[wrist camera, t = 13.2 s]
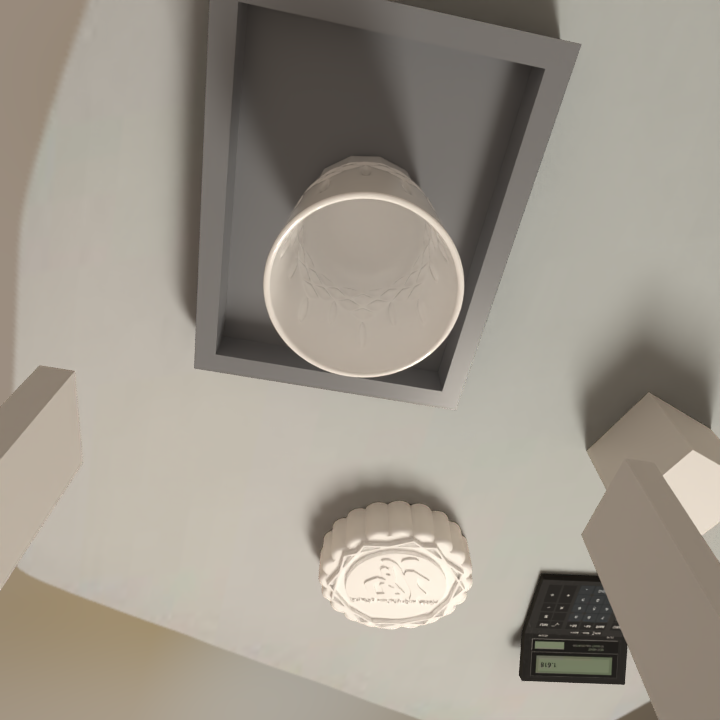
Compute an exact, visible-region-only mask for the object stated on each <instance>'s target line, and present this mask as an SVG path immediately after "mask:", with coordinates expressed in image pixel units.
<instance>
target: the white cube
mask: <svg viewBox="0 0 720 720" xmlns="http://www.w3.org/2000/svg"><path fill="white" fill-rule="evenodd" d="M587 453H588V455H589V457H590V459H591V461H592V463H593V465H594V467H595V469H596V471H597V473H598V475H599V477H600V479H601V481H602V482H603V484H604V486H605V488H606V490H607V489H608V487H609V485H610V483H611V482H612V480H613V478H614V476H615V475H616V473H617V471H618V469H619V468H620V466H621V464H622V462H623V461H624V459H625V458H627V459H634V460H640V461H646V462H652V463H655V465H656V466H657V468H658V469H659V471H660V472H661V474H662V476H663V477H664V479H665V480H666V482H667V483H668V485H669V486H670V488H671V489H672V491H673V492H674V494H675V495H676V497H677V498H678V500H679V502H680V503H681V505H682V506H683V508H684V509H685V511H686V512H687V514H688V515H689V517H690V518H691V520H692V521H693V523H694V524H695V526H696V528H697V529H698V531H699V532H700V534H701V535H703V534H704V533H706V532H707V531H708V530H710V529H711V528H712V527H714V526H715V525H716V524H718V523H719V522H720V439H719V438H718V437H717V436H716V435H715V434H714V432H713V431H712V430H711V429H710V428H708V427H706V426H705V425H703V424H701V423H700V422H698V421H696V420H695V419H693V418H691V417H690V416H688V415H686V414H685V413H683V412H681V411H679V410H678V409H676V408H674V407H673V406H671V405H669V404H668V403H666V402H664V401H663V400H661V399H659V398H658V397H656V396H654V395H653V394H651V393H649V392H648V393H647V394H646V395H645V396H644V397H643V398H642V399H641V400H640V401H639V402H638V403H637V404H636V405H635V406H634V407H632V408H631V409H630V410H629V411H628V412H627V413H626V414H625V415H624V416H623V417H622V418H621V419H620V420H619V421H618V422H617V423H616V424H614V425H613V426H612V427H611V428H610V429H609V430H608V431H607V432H606V433H605V434H604V435H603V436H602V437H601V438H600V439H599V440H598V441H597V442H595V443H594V444H593V445H592V446H591V447H590V448H589V449H588V450H587Z"/></svg>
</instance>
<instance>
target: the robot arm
mask: <svg viewBox="0 0 720 720" xmlns="http://www.w3.org/2000/svg"><path fill="white" fill-rule="evenodd" d="M82 464H83V456H82V445H81V434H80V423H79V412H78V401H77V390H76V379H75V371H72V370H65V369H59V368H53V367H46V366H39V367H38V368H37V369H36V370H35V371H34V372H33V373H32V374H31V375H30V376H29V377H28V378H27V379H26V380H25V381H24V382H23V383H22V384H21V385H20V386H19V387H18V389H17V390H16V391H15V392H14V393H13V394H12V395H11V396H10V397H9V398H8V399H7V400H6V401H5V402H4V403H3V404H2V405H1V406H0V590H1V588H2V587H3V586H4V584H5V583H6V581H7V579H8V578H9V576H10V575H11V573H12V572H13V570H14V569H15V567H16V566H17V564H18V562H19V561H20V559H21V558H22V556H23V555H24V553H25V552H26V550H27V549H28V547H29V545H30V544H31V542H32V541H33V539H34V538H35V536H36V535H37V533H38V532H39V530H40V528H41V527H42V525H43V524H44V522H45V521H46V519H47V518H48V516H49V515H50V513H51V511H52V510H53V508H54V507H55V505H56V504H57V502H58V501H59V499H60V498H61V496H62V494H63V493H64V491H65V490H66V488H67V487H68V485H69V484H70V482H71V481H72V479H73V477H74V476H75V474H76V473H77V471H78V470H79V468H80V467H81V465H82ZM581 535H582V538H583V540H584V542H585V545H586V547H587V550H588V552H589V554H590V557H591V559H592V561H593V564H594V566H595V569H596V571H597V573H598V576H599V578H600V581H601V583H602V585H603V588H604V590H605V593H606V595H607V597H608V600H609V602H610V604H611V607H612V609H613V612H614V614H615V616H616V619H617V621H618V624H619V626H620V628H621V631H622V633H623V636H624V638H625V640H626V643H627V645H628V647H629V650H630V652H631V655H632V657H633V659H634V662H635V664H636V667H637V669H638V671H639V674H640V676H641V679H642V681H643V683H644V686H645V688H646V690H647V693H648V695H649V698H650V700H651V702H652V705H653V707H654V710H655V712H656V714H657V717H658V719H659V720H720V563H719V561H718V560H717V558H716V557H715V555H714V554H713V552H712V551H711V549H710V547H709V546H708V544H707V543H706V541H705V540H704V538H703V537H702V535H701V534H700V532H699V531H698V529H697V528H696V526H695V524H694V523H693V521H692V520H691V518H690V517H689V515H688V514H687V512H686V511H685V509H684V508H683V506H682V505H681V503H680V502H679V500H678V498H677V497H676V495H675V494H674V492H673V491H672V489H671V488H670V486H669V485H668V483H667V482H666V480H665V479H664V477H663V476H662V474H661V472H660V471H659V469H658V468H657V466H656V465H655V463H652V462H646V461H640V460H634V459H627V458H625V459H624V461H623V462H622V464H621V466H620V468H619V469H618V471H617V473H616V475H615V476H614V478H613V480H612V482H611V483H610V485H609V487H608V489H607V490H606V492H605V494H604V496H603V498H602V499H601V501H600V503H599V505H598V506H597V508H596V510H595V512H594V513H593V515H592V517H591V519H590V520H589V522H588V524H587V526H586V527H585V529H584V531H583V533H582V534H581Z"/></svg>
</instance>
